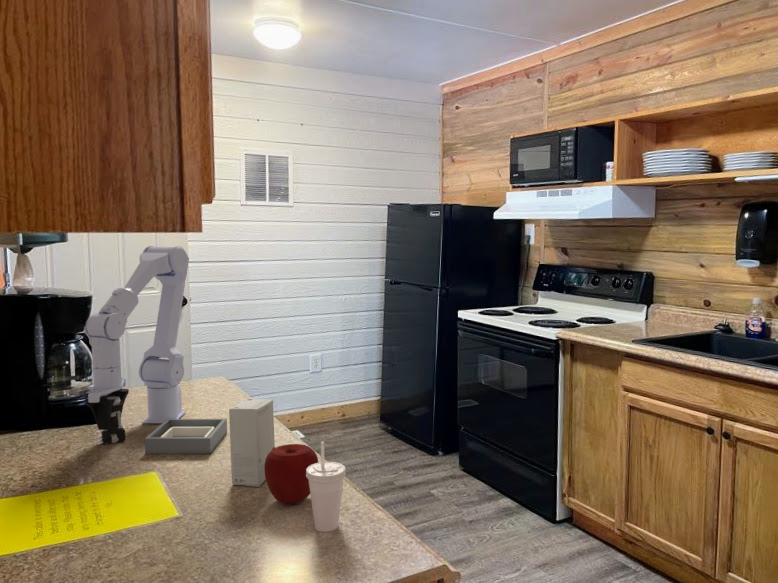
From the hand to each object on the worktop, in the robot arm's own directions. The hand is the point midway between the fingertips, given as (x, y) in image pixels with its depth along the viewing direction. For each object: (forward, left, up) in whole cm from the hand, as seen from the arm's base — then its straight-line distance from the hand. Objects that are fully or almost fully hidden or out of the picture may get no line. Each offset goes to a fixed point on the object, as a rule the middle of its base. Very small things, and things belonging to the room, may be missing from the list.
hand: (109, 425), depth 140 cm
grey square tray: (+1, +18, -4) cm, 18 cm away
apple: (+31, +46, -4) cm, 56 cm away
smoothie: (+41, +53, -4) cm, 67 cm away
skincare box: (+21, +37, -4) cm, 43 cm away
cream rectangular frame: (+1, +18, -4) cm, 18 cm away
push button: (0, 0, -4) cm, 4 cm away
